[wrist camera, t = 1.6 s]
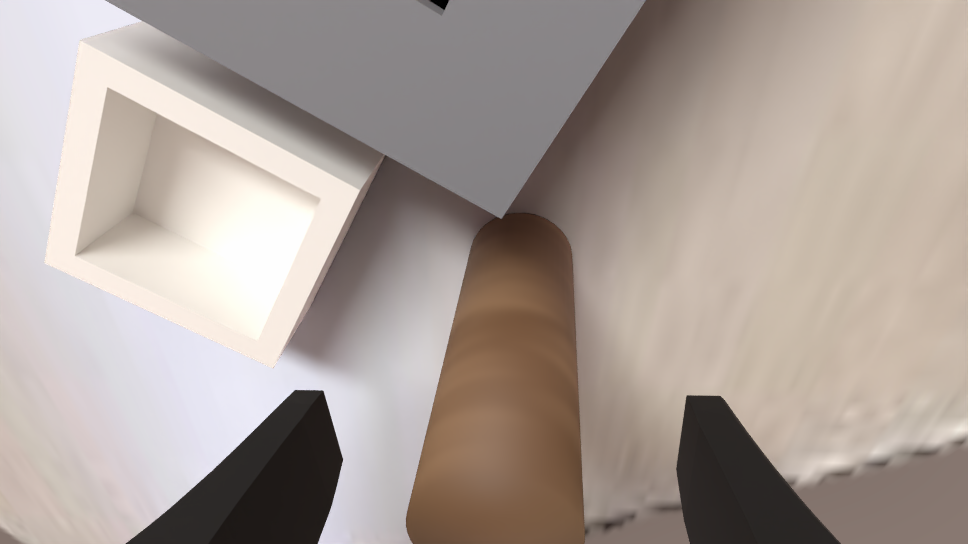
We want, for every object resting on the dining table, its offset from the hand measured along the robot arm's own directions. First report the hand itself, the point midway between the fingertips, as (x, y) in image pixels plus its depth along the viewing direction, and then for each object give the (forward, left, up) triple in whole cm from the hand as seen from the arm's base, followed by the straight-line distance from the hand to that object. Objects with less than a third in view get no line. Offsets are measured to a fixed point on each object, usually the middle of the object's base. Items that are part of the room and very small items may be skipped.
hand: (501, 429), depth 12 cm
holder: (+8, +2, -7) cm, 11 cm away
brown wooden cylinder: (0, 0, -7) cm, 7 cm away
